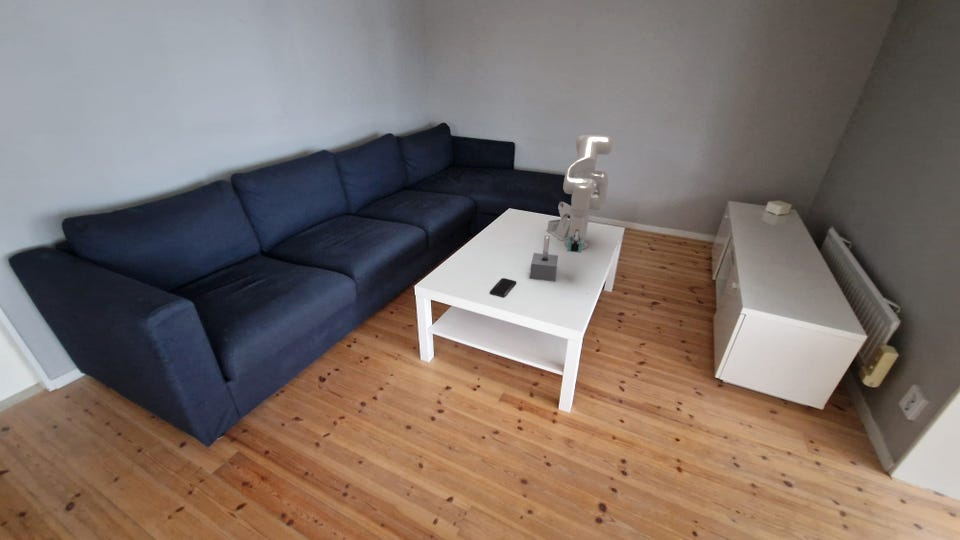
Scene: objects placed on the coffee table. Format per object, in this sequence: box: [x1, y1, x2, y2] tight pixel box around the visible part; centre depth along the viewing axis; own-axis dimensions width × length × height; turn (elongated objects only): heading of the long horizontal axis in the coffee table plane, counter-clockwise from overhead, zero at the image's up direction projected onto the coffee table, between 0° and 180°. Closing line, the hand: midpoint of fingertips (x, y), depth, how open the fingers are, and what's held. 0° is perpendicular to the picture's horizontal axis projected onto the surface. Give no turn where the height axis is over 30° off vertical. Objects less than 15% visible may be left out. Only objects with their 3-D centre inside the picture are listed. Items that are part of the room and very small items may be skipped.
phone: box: [489, 277, 517, 298], centre depth 181 cm, size 8×1×15 cm
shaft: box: [542, 235, 550, 261], centre depth 187 cm, size 2×2×14 cm
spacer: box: [566, 236, 583, 254], centre depth 181 cm, size 6×6×5 cm
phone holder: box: [546, 201, 571, 242], centre depth 232 cm, size 17×10×18 cm, turn 22°
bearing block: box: [529, 252, 559, 282], centre depth 191 cm, size 12×12×8 cm
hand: (574, 247), depth 182 cm, fingers closed on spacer, 6 cm apart
